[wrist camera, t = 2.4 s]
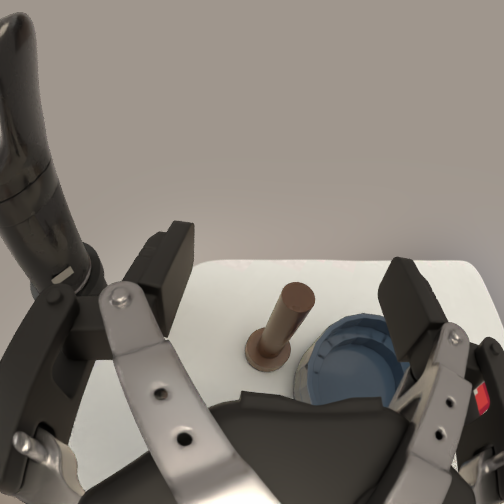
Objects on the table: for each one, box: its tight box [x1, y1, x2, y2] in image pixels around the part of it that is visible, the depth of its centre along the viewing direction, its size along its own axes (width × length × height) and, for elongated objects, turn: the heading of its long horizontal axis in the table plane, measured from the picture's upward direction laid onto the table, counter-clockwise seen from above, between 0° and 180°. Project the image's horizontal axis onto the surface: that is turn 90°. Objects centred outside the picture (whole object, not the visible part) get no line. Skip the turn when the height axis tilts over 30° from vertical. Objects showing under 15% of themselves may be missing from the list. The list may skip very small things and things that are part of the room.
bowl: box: [294, 313, 410, 407], centre depth 26 cm, size 15×15×5 cm
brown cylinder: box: [245, 282, 315, 372], centre depth 25 cm, size 5×5×13 cm
